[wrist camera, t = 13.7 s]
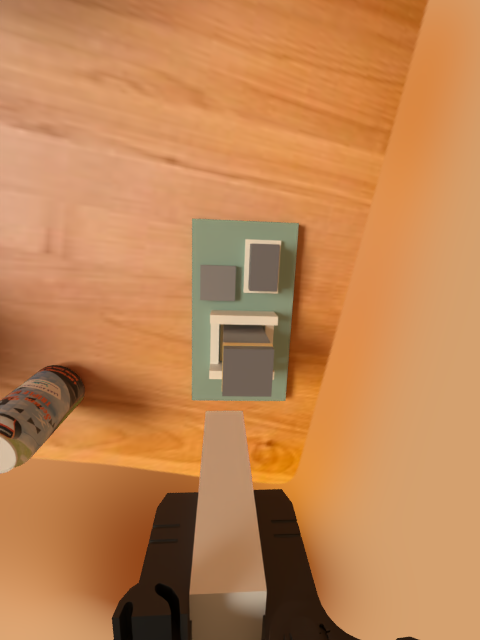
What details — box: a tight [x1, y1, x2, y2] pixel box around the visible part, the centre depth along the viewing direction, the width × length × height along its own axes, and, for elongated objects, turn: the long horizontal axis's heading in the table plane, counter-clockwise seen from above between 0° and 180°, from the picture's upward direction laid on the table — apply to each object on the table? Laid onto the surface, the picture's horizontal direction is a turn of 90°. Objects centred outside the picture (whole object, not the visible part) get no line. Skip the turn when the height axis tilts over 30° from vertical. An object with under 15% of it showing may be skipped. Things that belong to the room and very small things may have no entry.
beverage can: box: [0, 365, 85, 473], centre depth 32 cm, size 6×7×12 cm
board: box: [192, 219, 299, 401], centre depth 35 cm, size 22×12×4 cm, turn 178°
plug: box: [222, 324, 274, 397], centre depth 32 cm, size 5×5×10 cm
